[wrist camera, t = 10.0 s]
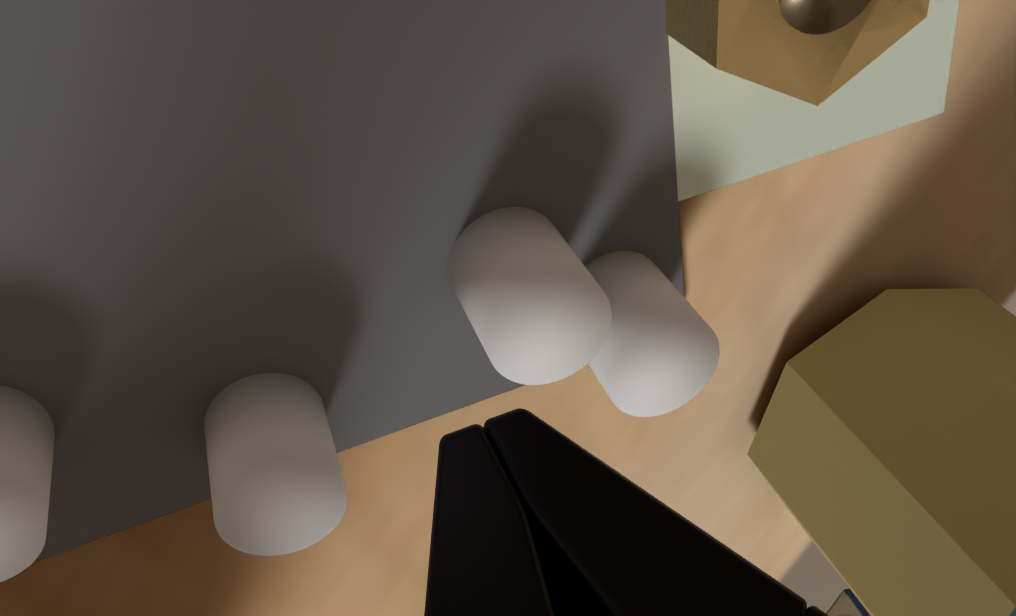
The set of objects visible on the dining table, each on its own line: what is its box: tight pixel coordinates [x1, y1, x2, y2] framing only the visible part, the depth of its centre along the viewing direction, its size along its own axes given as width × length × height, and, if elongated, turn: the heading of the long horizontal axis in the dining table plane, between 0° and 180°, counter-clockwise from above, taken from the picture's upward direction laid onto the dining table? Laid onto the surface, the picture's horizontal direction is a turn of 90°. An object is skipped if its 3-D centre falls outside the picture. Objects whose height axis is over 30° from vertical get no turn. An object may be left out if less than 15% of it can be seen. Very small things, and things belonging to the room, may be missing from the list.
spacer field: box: [0, 0, 720, 582], centre depth 16 cm, size 20×19×4 cm
